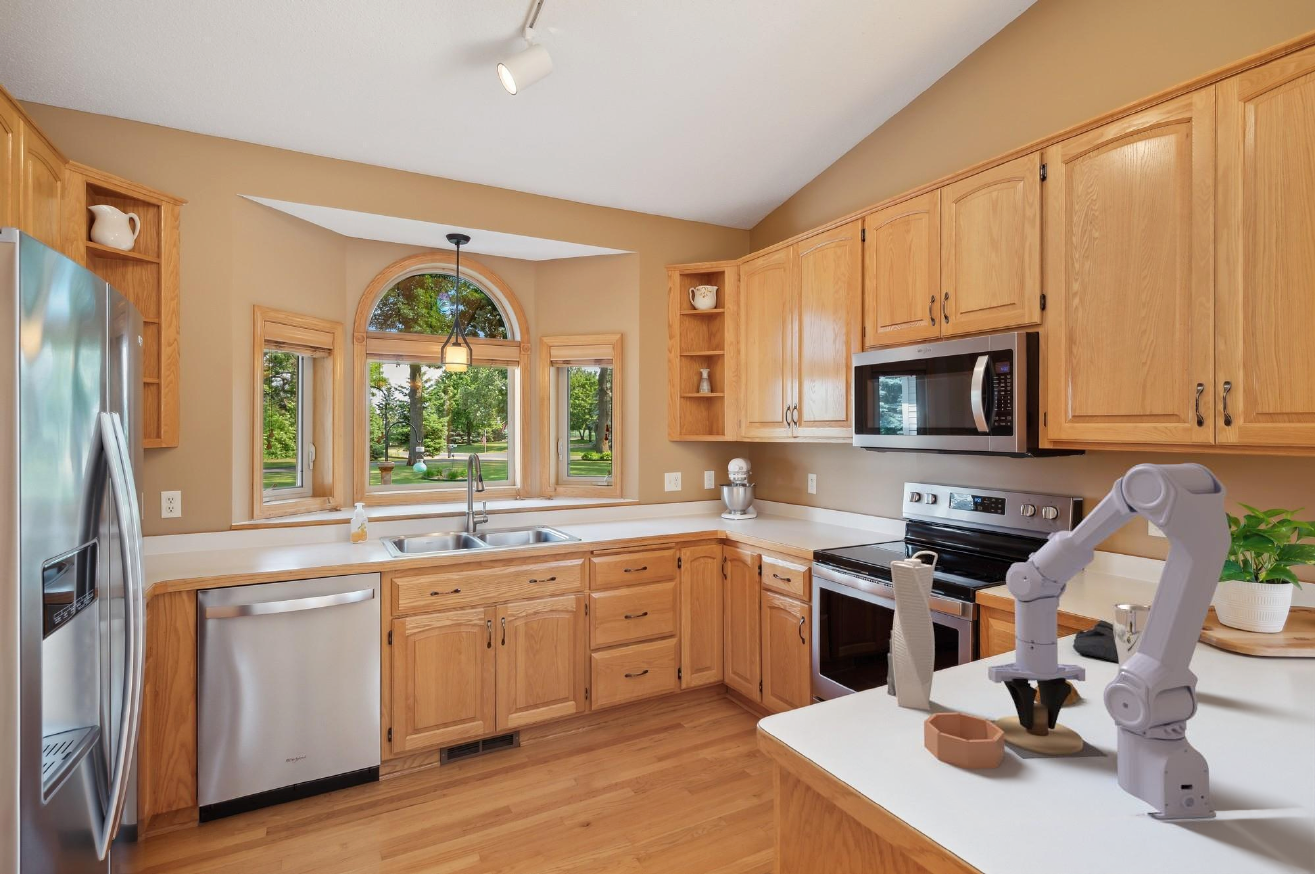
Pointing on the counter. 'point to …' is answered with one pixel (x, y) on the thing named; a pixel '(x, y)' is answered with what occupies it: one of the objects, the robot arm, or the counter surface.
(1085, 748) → the mat
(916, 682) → the skyscraper
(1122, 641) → the beer glass
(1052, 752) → the lid
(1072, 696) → the pastry
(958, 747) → the bowl
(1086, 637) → the dark slate chunk
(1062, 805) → the counter surface
